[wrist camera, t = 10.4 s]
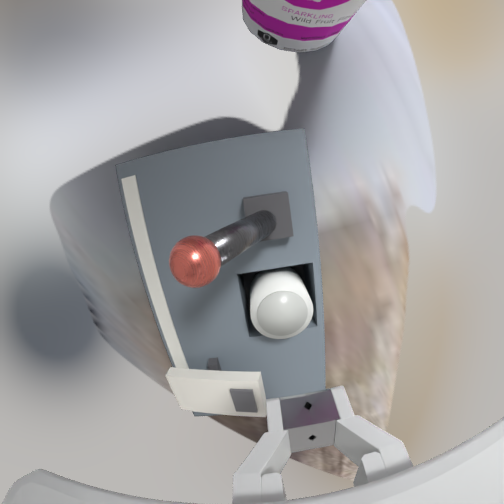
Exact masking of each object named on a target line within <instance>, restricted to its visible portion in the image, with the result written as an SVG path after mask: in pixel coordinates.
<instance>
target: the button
mask: <svg viewBox="0 0 504 504" xmlns="http://www.w3.org/2000/svg"><path fill="white" fill-rule="evenodd" d="M250 315H251V320H252V323H253V325H254V327H255V328H256V329H257V331H259V332H260V333H261V334H263V335H264V336H266V337H269V338H273V339H286V338H290V337H293V336H295V335H297V334H299V333H300V332H302V331H303V330H304V329H305V328H306V327H307V326H308V324H309V323H310V321H311V319H312V316H313V304H312V301H311V299H310V296H309V294H308V292H307V290H306V288H305V285H304V283H303V281H302V279H301V277H300V275H299V274H298V273H297V272H296V271H295V270H294V269H292V268H290V267H288V266H287V267H281V268H274V269H268V270H262V271H259V272H258V273H257V274H256V275H255V276H254V278H253V280H252V282H251V285H250Z"/></svg>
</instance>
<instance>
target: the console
mask: <svg viewBox="0 0 504 504" xmlns="http://www.w3.org/2000/svg"><path fill="white" fill-rule="evenodd" d="M115 166H116V171H117V177H118V182H119V187H120V192H121V197H122V202H123V207H124V211H125V216H126V220H127V224H128V229H129V233H130V237H131V241H132V245H133V248H134V252H135V256H136V260H137V263H138V267H139V270H140V274H141V277H142V280H143V284H144V287H145V290H146V293H147V297H148V300H149V303H150V306H151V309H152V312H153V315H154V318H155V321H156V324H157V326H158V329H159V332H160V335H161V337H162V340H163V343H164V345H165V348H166V351H167V353H168V356H169V358H170V361H171V363H172V366H173V367H174V368H185V369H198V370H215V371H244V372H261V376H262V381H263V386H264V391H265V396H266V399H272V398H279V399H280V397H287V396H294V395H301V394H305V393H310V392H315V391H319V390H324V389H325V335H324V311H323V292H322V277H321V263H320V251H319V240H318V229H317V220H316V210H315V202H314V193H313V185H312V177H311V170H310V163H309V156H308V149H307V142H306V136H305V130H304V128H301V129H291V130H282V131H273V132H266V133H258V134H252V135H245V136H239V137H233V138H227V139H221V140H216V141H211V142H205V143H200V144H196V145H191V146H186V147H182V148H177V149H173V150H169V151H165V152H161V153H157V154H153V155H149V156H145V157H141V158H138V159H134V160H131V161H127V162H124V163H120V164H117V165H115ZM260 210H267V211H270V212H271V213H273V215H274V216H275V218H276V221H277V225H276V228H275V230H274V232H273V233H271V234H270V235H268V236H267V237H265V238H264V239H262V240H261V241H259V242H258V243H256V244H255V245H253V246H252V247H250V248H249V249H247V250H246V251H244V252H242V253H241V254H239V255H238V256H236V257H235V258H233V259H232V260H230V261H229V262H227V263H226V264H224V265H223V266H221V268H220V271H219V273H218V275H217V277H216V278H215V279H214V280H213V281H212V282H211V283H210V284H208V285H206V286H204V287H200V288H190V287H187V286H184V285H182V284H181V283H179V282H178V281H177V280H176V279H175V278H174V276H173V275H172V273H171V271H170V267H169V256H170V253H171V250H172V248H173V247H174V245H175V244H176V243H177V242H178V241H179V240H181V239H183V238H184V237H187V236H192V235H199V236H203V237H205V236H207V235H209V234H211V233H213V232H215V231H217V230H219V229H221V228H223V227H225V226H228V225H230V224H232V223H234V222H236V221H238V220H240V219H242V218H245V217H247V216H249V215H251V214H253V213H255V212H258V211H260ZM287 266H288V267H290V268H292V269H294V270H295V271H296V272H297V273H298V274H299V275H300V277H301V279H302V281H303V283H304V285H305V288H306V290H307V292H308V294H309V296H310V299H311V301H312V304H313V316H312V319H311V321H310V323H309V324H308V326H307V327H306V328H305V329H304V330H303V331H302V332H300V333H299V334H297V335H295V336H293V337H290V338H286V339H273V338H269V337H266V336H264V335H263V334H261V333H260V332H259V331H257V329H256V328H255V327H254V325H253V323H252V320H251V315H250V285H251V282H252V280H253V278H254V276H255V275H256V274H257V273H258V272H259V271H262V270H268V269H274V268H281V267H287ZM192 412H193V414H194V416H212V415H222V414H211V413H202V412H194V411H192Z"/></svg>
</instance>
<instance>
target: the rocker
mask: <svg viewBox="0 0 504 504" xmlns="http://www.w3.org/2000/svg"><path fill="white" fill-rule="evenodd" d="M165 376H166V378H167V380H168V382H169V385H170V387H171V389H172V391H173V393H174V395H175V398H176V399H177V402H178V404H179V406H180V408H181V410H187V411H194V412H202V413H211V414H222V415H234V416H250V417H266V414H267V411H266V396H265V391H264V386H263V381H262V376H261V372H244V371H215V370H198V369H185V368H174V367H170V369H169V370H168V372H167V374H166V375H165Z"/></svg>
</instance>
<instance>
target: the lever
mask: <svg viewBox="0 0 504 504" xmlns="http://www.w3.org/2000/svg"><path fill="white" fill-rule="evenodd" d="M276 225H277V221H276V218H275V216H274V215H273V213H271V212H270V211H267V210H260V211H258V212H255V213H253V214H251V215H249V216H247V217H245V218H242V219H240V220H238V221H236V222H234V223H232V224H230V225H228V226H225V227H223V228H221V229H219V230H217V231H215V232H213V233H211V234H209V235H207V236H205V237H203V236H199V235H192V236H187V237H184V238H183V239H181V240H179V241H178V242H177V243H176V244H175V245H174V247H173V248H172V250H171V253H170V256H169V267H170V271H171V273H172V275H173V276H174V278H175V279H176V280H177V281H178V282H179V283H181V284H182V285H184V286H187V287H190V288H200V287H204V286H206V285H208V284H210V283H211V282H212V281H213V280H214V279H215V278H216V277H217V275H218V273H219V271H220V268H221V266H223V265H224V264H226V263H227V262H229V261H230V260H232V259H233V258H235V257H236V256H238V255H239V254H241V253H242V252H244V251H246V250H247V249H249V248H250V247H252V246H253V245H255V244H256V243H258V242H259V241H261V240H262V239H264V238H265V237H267V236H268V235H270V234H271V233H273V232H274V230H275V228H276Z"/></svg>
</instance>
